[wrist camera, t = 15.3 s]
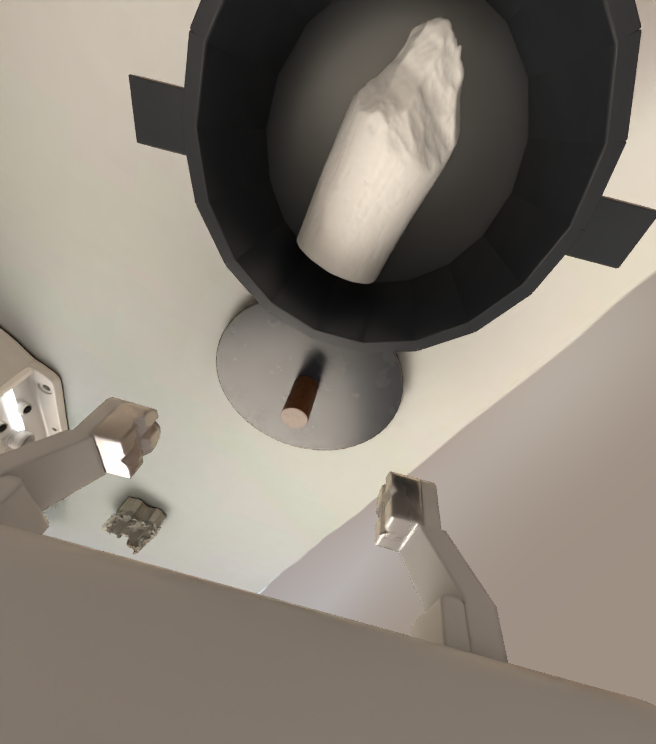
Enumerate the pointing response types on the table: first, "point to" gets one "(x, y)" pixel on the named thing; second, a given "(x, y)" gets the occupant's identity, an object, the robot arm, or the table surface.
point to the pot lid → (305, 383)
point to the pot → (456, 181)
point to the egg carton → (135, 523)
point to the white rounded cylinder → (386, 156)
